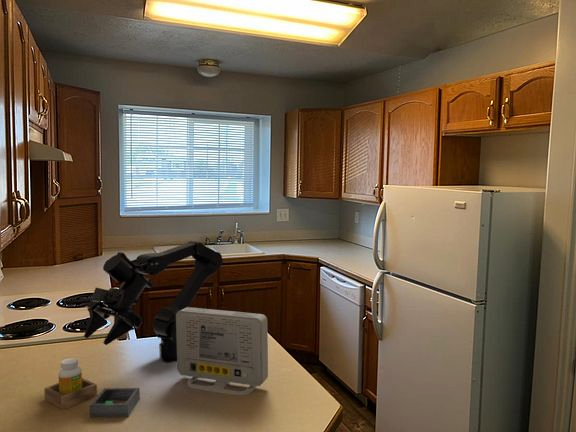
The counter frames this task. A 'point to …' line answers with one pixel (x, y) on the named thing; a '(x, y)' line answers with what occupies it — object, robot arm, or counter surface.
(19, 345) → the counter surface
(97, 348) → the counter surface
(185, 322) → the network device
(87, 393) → the holder sleeve
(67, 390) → the supplement bottle
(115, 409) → the dock collar
